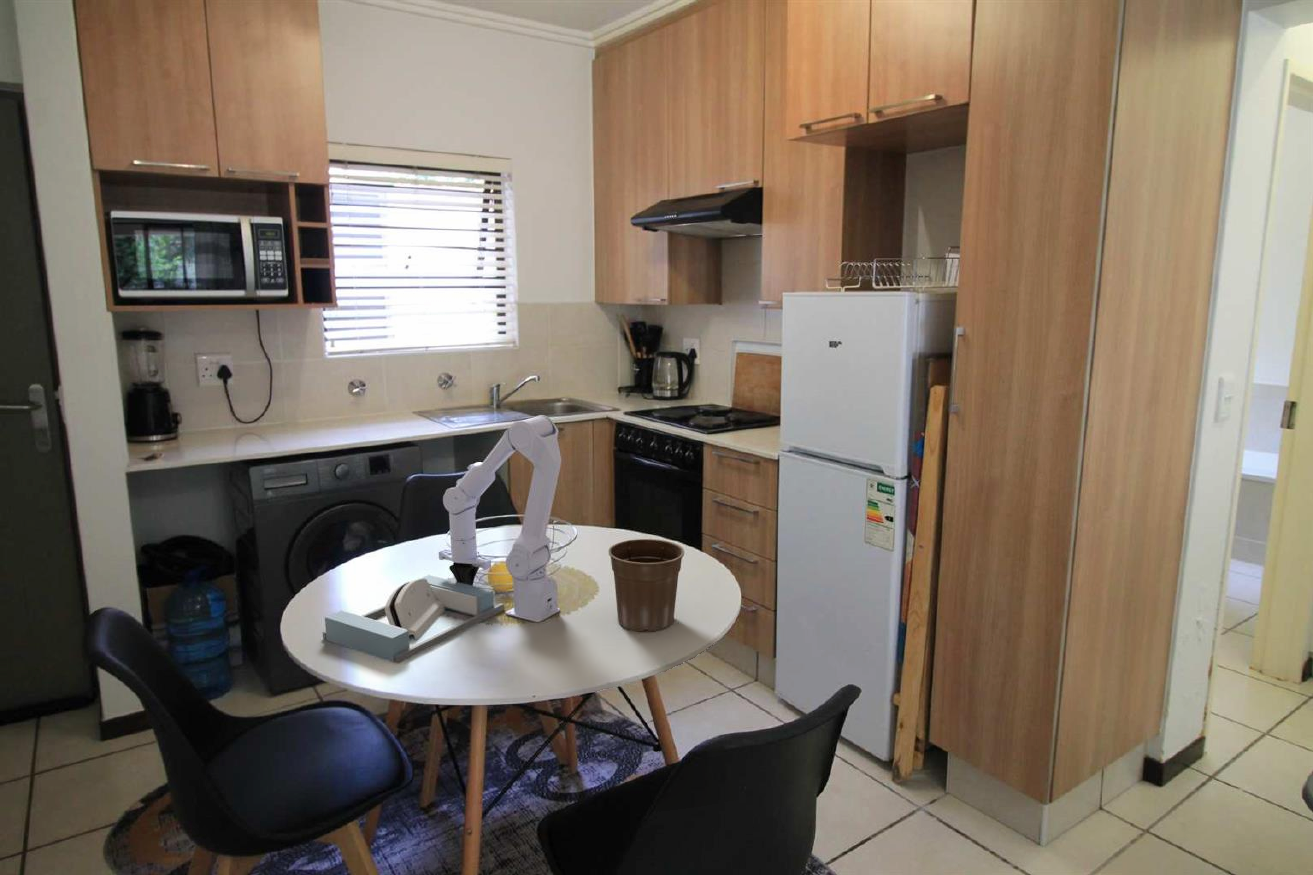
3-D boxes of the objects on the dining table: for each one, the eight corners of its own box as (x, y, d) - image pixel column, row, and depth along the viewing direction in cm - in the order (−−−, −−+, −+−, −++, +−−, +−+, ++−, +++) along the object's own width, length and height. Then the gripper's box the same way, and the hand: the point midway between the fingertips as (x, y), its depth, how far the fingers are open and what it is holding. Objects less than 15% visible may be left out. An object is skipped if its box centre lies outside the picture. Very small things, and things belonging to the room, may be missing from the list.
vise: (504, 609, 178) (503, 588, 177) (397, 663, 152) (396, 639, 151) (433, 591, 189) (432, 571, 188) (323, 638, 163) (321, 616, 162)
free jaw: (494, 611, 176) (493, 590, 176) (479, 618, 173) (478, 597, 172) (429, 595, 186) (428, 574, 186) (415, 601, 183) (414, 580, 182)
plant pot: (698, 617, 174) (698, 546, 171) (656, 643, 160) (656, 567, 158) (638, 601, 183) (637, 534, 180) (594, 625, 169) (593, 553, 167)
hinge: (417, 640, 162) (398, 596, 161) (397, 646, 163) (378, 603, 162) (446, 608, 179) (429, 568, 177) (427, 614, 179) (410, 574, 178)
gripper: (499, 537, 180) (501, 593, 182) (452, 527, 187) (455, 582, 190) (477, 545, 174) (480, 603, 176) (430, 535, 181) (433, 591, 184)
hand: (466, 593), depth 183 cm, fingers closed, pressing on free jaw
